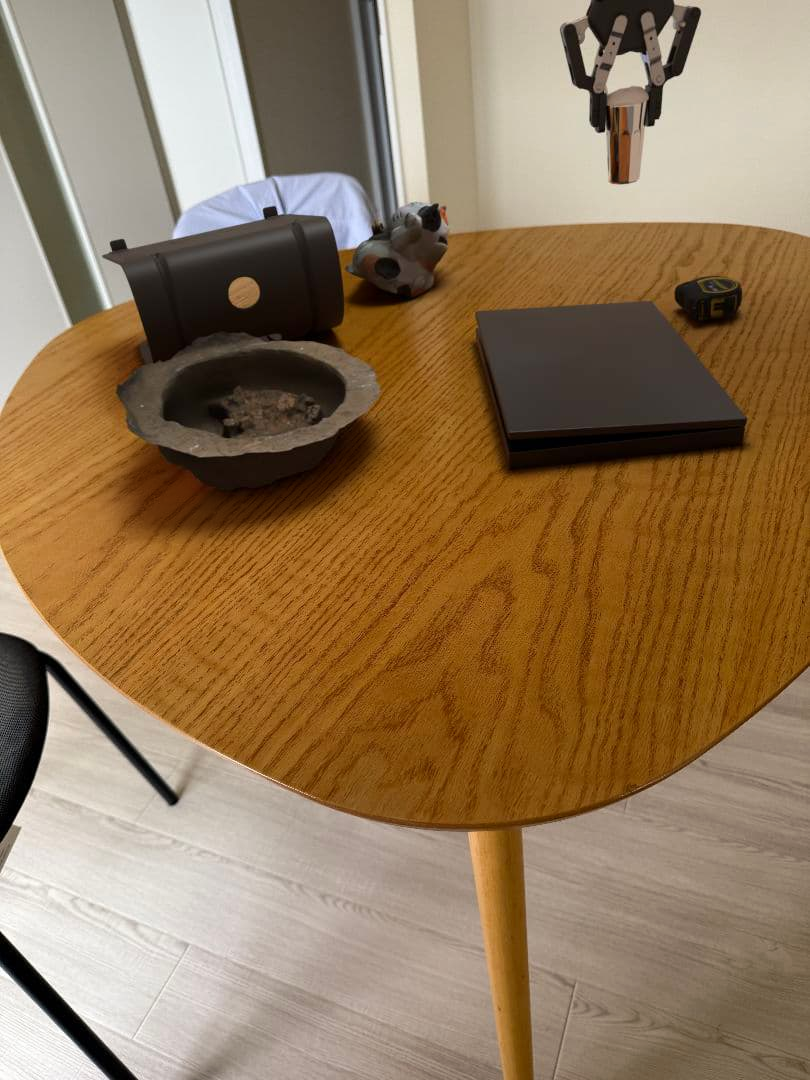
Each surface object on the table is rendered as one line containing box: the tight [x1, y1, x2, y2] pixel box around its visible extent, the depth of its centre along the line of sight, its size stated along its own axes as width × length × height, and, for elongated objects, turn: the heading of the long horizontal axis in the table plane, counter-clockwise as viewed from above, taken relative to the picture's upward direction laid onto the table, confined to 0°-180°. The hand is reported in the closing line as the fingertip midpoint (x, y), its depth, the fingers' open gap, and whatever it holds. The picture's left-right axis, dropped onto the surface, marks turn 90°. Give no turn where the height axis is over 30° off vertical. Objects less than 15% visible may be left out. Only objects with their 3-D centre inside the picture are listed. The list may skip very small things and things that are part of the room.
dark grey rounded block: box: [101, 205, 345, 365], centre depth 98 cm, size 26×24×16 cm
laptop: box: [475, 327, 746, 471], centre depth 82 cm, size 21×30×2 cm
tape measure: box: [674, 275, 743, 322], centre depth 93 cm, size 7×7×4 cm
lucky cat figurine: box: [344, 200, 450, 299], centre depth 111 cm, size 15×12×14 cm
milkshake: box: [604, 84, 649, 186], centre depth 84 cm, size 4×5×10 cm
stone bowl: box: [115, 332, 382, 491], centre depth 77 cm, size 25×25×9 cm
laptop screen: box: [474, 300, 748, 440], centre depth 81 cm, size 21×30×1 cm
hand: (624, 127), depth 84 cm, fingers closed on milkshake, 4 cm apart
